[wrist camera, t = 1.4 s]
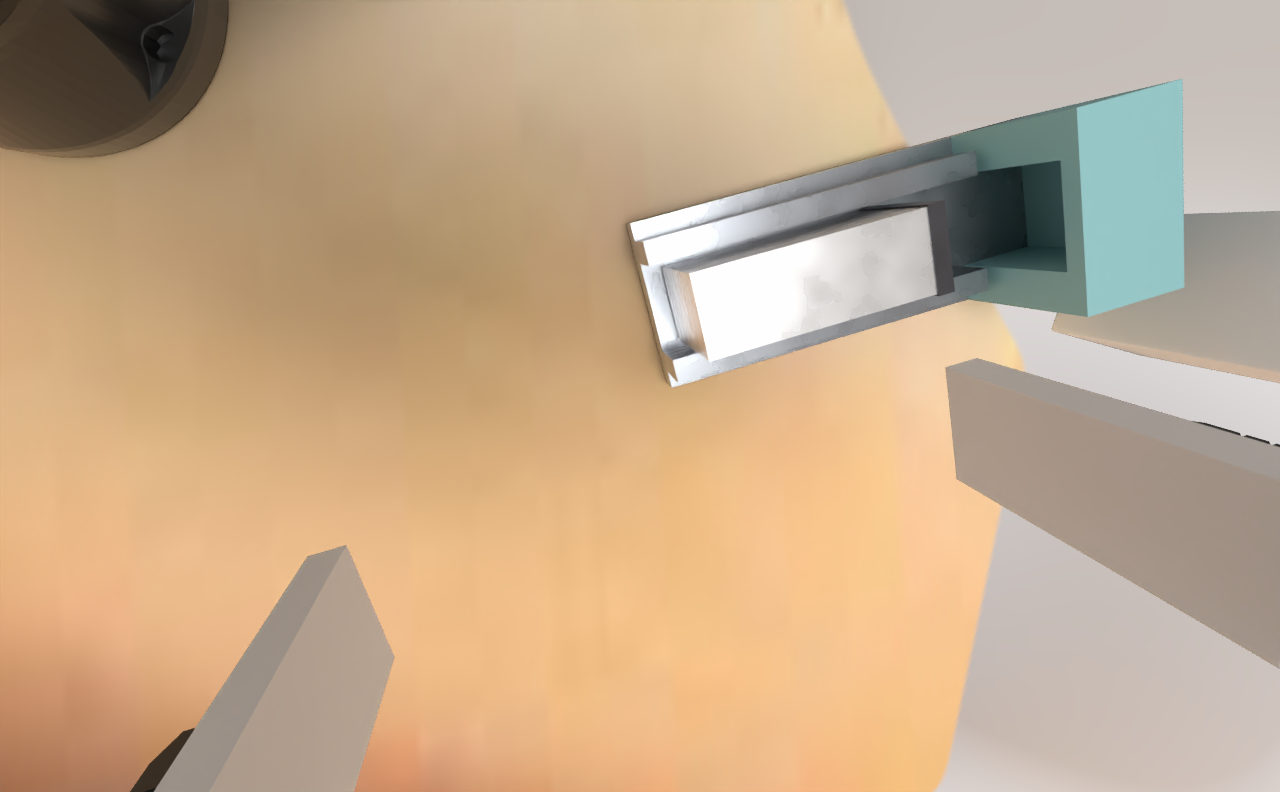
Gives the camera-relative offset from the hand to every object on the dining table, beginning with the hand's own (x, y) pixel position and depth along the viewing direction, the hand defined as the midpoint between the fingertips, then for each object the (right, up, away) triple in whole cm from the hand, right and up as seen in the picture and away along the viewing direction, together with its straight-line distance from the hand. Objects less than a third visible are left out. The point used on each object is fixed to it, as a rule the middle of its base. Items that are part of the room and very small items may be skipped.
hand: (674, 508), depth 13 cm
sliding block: (+7, +9, +21) cm, 24 cm away
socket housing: (+19, +13, +22) cm, 32 cm away
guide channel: (+11, +11, +23) cm, 27 cm away
